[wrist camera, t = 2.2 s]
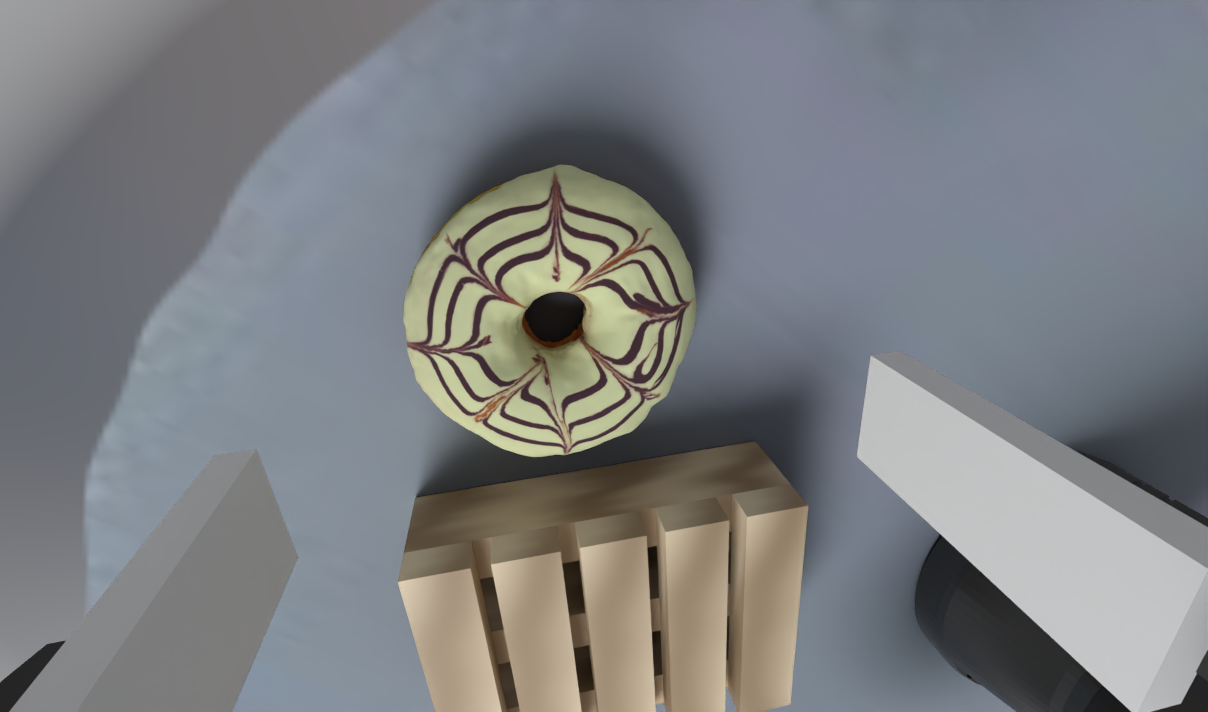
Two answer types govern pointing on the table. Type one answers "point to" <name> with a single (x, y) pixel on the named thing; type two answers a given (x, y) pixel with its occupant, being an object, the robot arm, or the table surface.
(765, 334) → the table surface
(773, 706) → the pallet
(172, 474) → the table surface
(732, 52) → the table surface
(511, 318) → the decorated donut
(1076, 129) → the table surface
